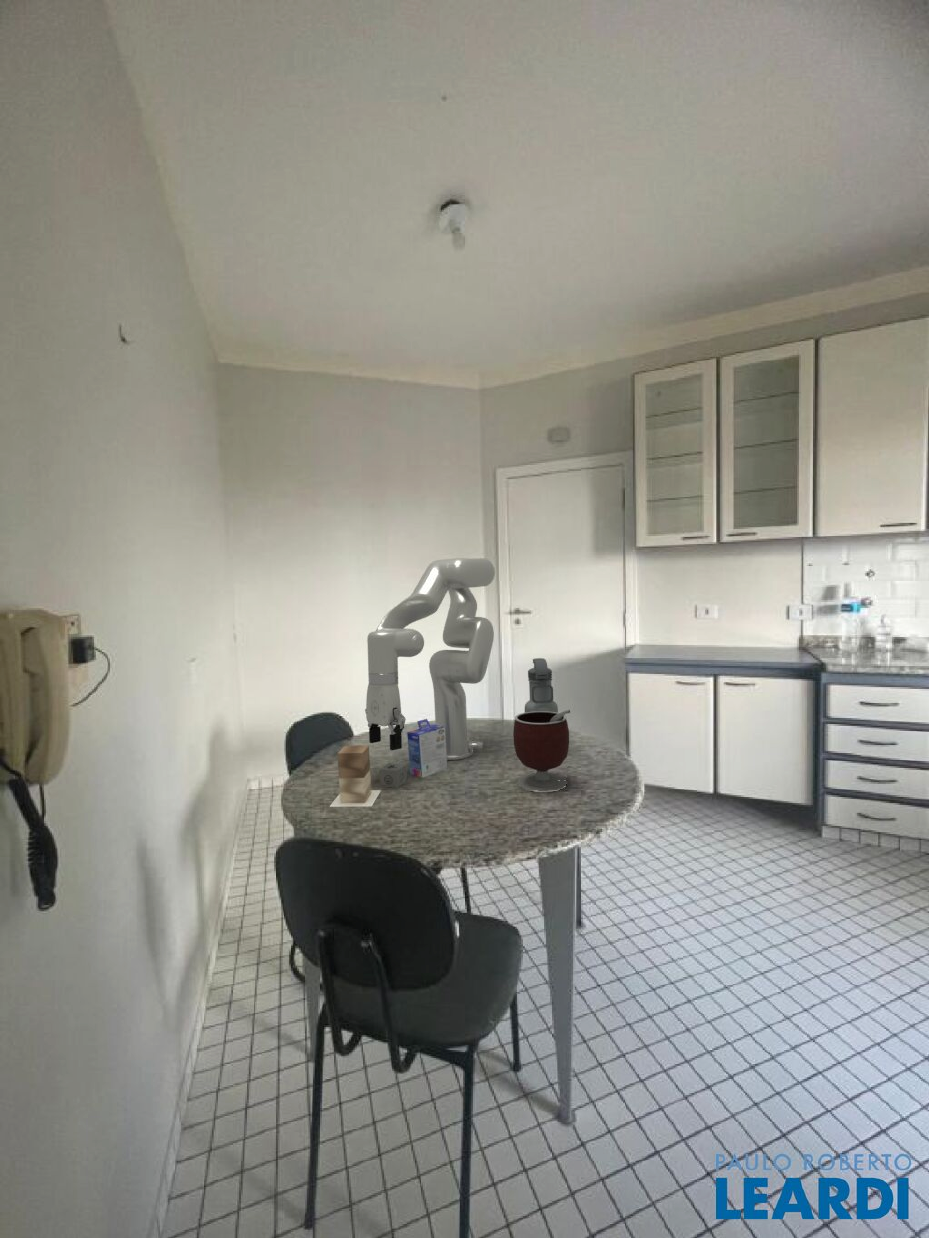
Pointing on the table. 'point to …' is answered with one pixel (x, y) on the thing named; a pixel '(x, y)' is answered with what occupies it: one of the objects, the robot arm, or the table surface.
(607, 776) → the table surface
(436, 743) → the ink cartridge box
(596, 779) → the table surface
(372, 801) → the stone coaster
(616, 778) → the table surface
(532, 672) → the water bottle
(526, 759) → the mate gourd
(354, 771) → the walnut block
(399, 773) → the grey marked cube
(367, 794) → the beech block
